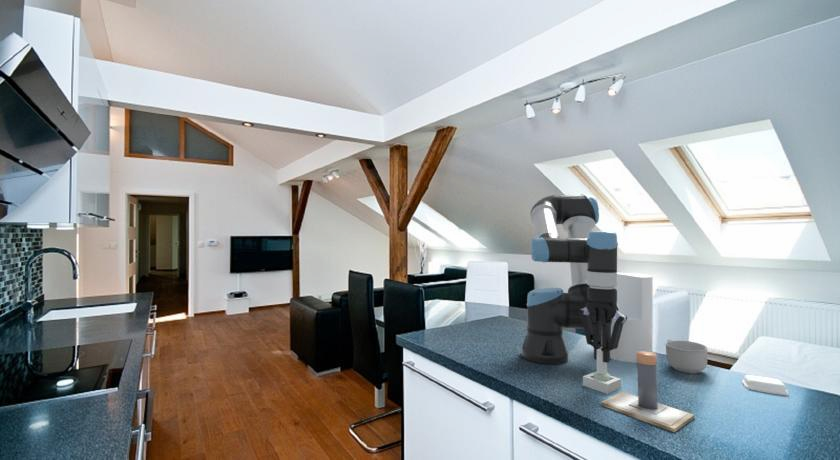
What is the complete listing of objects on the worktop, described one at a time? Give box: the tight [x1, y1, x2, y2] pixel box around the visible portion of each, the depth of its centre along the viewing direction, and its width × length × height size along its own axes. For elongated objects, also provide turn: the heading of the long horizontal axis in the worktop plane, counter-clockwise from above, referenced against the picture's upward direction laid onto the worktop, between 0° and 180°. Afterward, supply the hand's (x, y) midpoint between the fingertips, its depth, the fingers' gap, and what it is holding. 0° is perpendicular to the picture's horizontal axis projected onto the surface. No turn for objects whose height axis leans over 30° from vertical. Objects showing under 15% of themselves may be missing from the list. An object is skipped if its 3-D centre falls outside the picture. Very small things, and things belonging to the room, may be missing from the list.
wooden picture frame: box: [600, 391, 695, 433], centre depth 91 cm, size 16×11×1 cm
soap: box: [741, 374, 789, 396], centre depth 105 cm, size 9×7×3 cm
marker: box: [636, 351, 659, 409], centre depth 91 cm, size 4×4×12 cm
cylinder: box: [601, 272, 654, 364], centre depth 135 cm, size 17×17×28 cm
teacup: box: [664, 338, 708, 374], centre depth 121 cm, size 14×11×8 cm
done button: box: [594, 370, 611, 382], centre depth 105 cm, size 4×4×3 cm
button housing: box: [582, 371, 622, 395], centre depth 105 cm, size 7×7×2 cm
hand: (601, 372), depth 106 cm, fingers closed
